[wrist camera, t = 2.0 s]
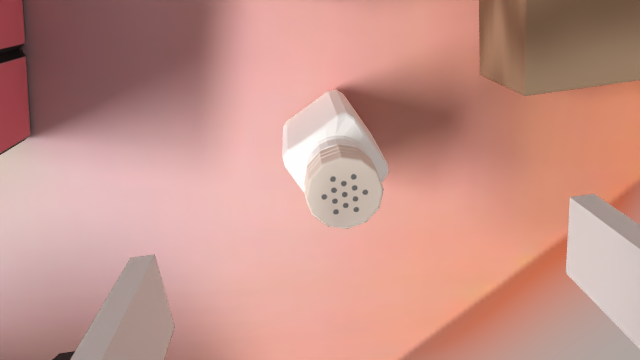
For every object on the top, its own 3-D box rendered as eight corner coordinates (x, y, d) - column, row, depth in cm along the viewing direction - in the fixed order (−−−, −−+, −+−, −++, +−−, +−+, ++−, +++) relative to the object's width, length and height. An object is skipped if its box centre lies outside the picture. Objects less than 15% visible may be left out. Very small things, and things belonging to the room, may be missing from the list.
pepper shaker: (374, 137, 30) (411, 203, 21) (319, 176, 31) (332, 255, 22) (335, 82, 29) (358, 127, 20) (278, 124, 29) (275, 185, 20)
